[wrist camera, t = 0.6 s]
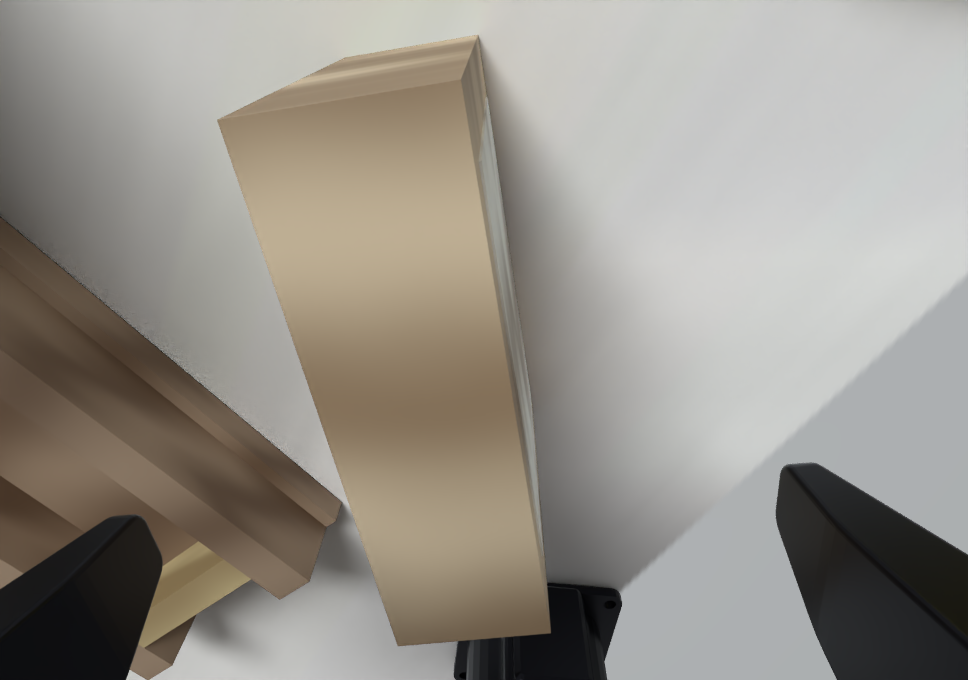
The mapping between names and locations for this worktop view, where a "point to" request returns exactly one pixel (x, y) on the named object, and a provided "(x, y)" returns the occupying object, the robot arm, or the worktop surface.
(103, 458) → the walnut ledge
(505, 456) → the tan box
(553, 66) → the worktop surface
